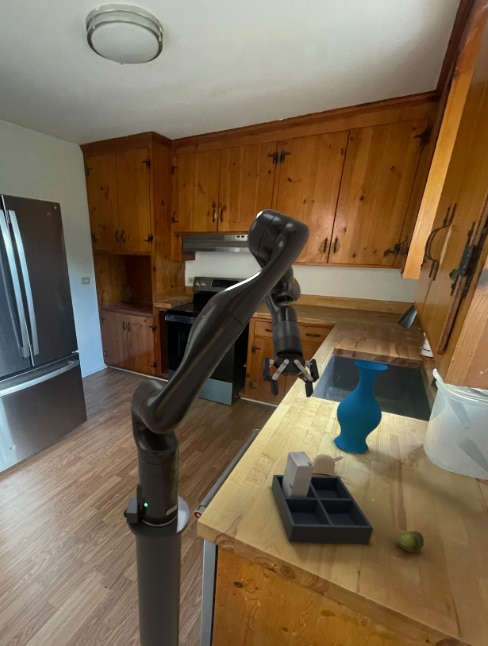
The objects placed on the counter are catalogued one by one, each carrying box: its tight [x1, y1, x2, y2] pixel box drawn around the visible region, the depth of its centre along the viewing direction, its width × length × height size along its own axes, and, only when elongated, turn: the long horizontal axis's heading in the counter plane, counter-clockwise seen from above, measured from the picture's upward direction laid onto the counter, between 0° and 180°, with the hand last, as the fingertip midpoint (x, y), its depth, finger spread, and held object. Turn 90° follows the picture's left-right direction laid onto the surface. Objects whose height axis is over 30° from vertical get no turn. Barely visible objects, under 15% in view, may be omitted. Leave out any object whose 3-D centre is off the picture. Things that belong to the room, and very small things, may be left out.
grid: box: [270, 474, 374, 545], centre depth 78 cm, size 17×17×5 cm
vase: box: [333, 359, 389, 454], centre depth 102 cm, size 12×13×28 cm
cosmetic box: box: [281, 450, 314, 497], centre depth 80 cm, size 6×4×12 cm
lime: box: [395, 530, 425, 553], centre depth 69 cm, size 4×5×5 cm
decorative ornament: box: [311, 453, 344, 476], centre depth 93 cm, size 4×8×5 cm, turn 76°
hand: (292, 395), depth 85 cm, fingers open, 8 cm apart
